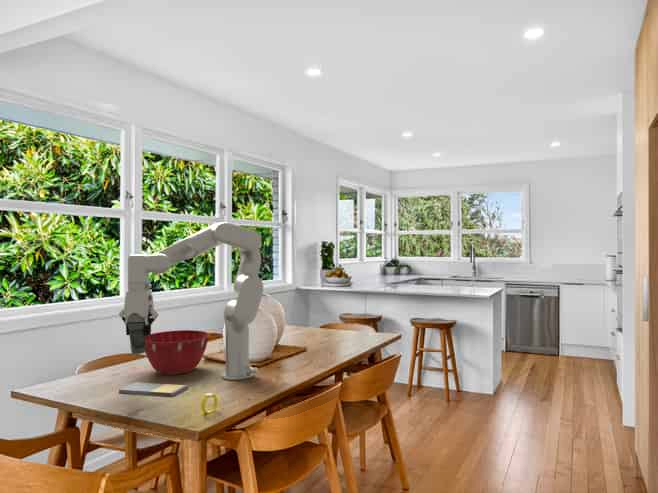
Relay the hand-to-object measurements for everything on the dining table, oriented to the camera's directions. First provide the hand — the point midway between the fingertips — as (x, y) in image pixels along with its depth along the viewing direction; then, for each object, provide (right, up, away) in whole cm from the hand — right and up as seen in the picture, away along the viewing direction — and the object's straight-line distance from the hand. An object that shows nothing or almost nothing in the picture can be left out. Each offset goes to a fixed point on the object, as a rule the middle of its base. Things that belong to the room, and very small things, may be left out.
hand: (138, 334), depth 184 cm
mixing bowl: (+5, -21, +29) cm, 36 cm away
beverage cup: (0, -7, -1) cm, 7 cm away
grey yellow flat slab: (+6, -21, -2) cm, 22 cm away
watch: (+33, -20, -26) cm, 47 cm away
